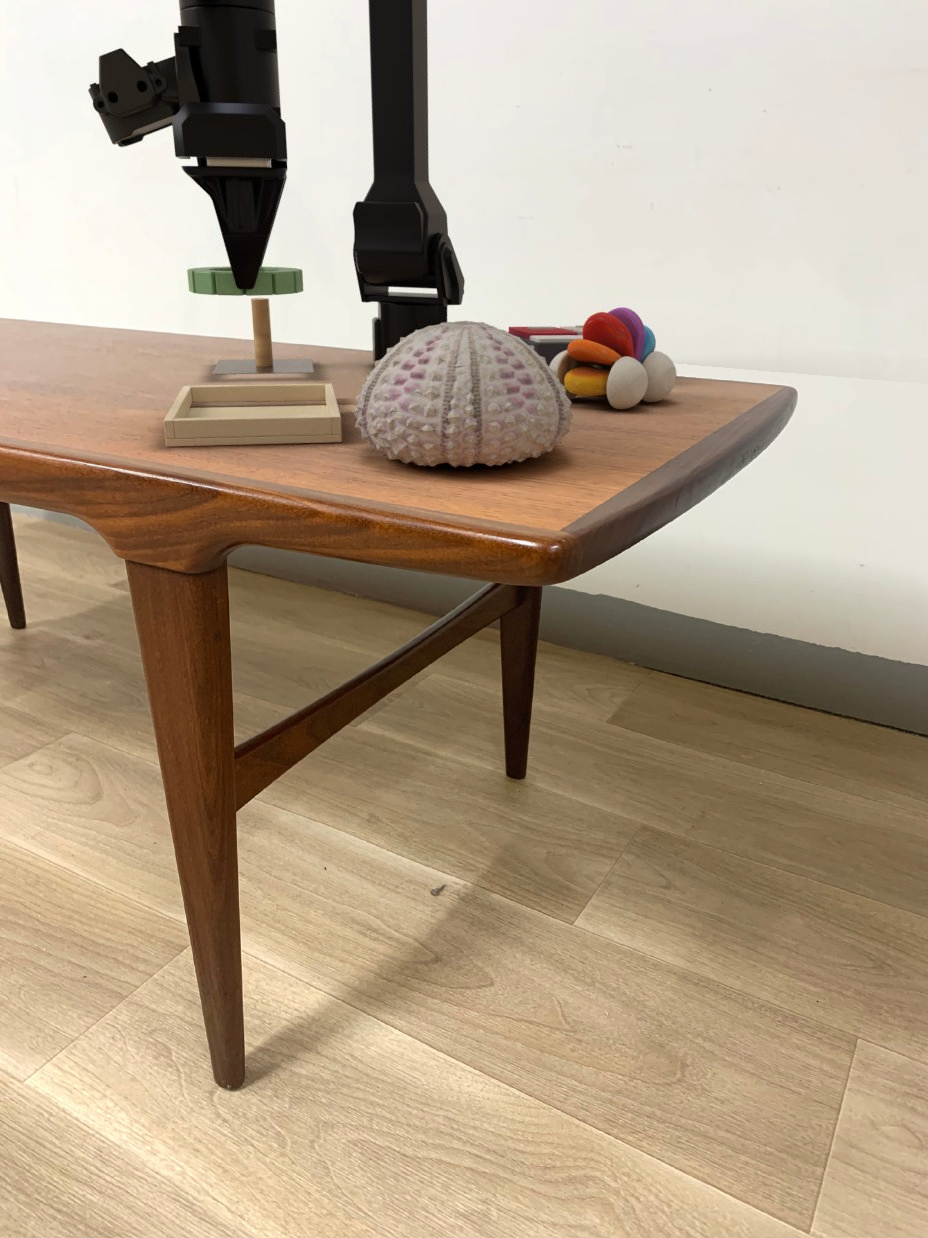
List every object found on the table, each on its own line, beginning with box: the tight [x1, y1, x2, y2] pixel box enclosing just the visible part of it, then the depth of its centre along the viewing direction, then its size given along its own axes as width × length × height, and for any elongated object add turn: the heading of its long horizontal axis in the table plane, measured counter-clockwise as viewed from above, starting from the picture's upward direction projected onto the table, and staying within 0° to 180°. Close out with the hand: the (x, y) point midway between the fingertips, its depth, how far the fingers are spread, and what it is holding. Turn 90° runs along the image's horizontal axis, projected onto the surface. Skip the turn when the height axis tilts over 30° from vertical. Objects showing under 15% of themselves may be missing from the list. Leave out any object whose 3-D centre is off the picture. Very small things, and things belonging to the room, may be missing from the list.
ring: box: [186, 266, 304, 297], centre depth 64 cm, size 8×8×1 cm
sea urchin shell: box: [352, 320, 574, 468], centre depth 58 cm, size 13×14×8 cm
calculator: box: [507, 324, 584, 366], centre depth 91 cm, size 11×4×15 cm
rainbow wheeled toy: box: [549, 306, 678, 410], centre depth 76 cm, size 8×10×7 cm
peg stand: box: [211, 297, 315, 375], centre depth 88 cm, size 9×9×7 cm
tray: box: [162, 383, 343, 448], centre depth 68 cm, size 11×13×2 cm
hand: (247, 284), depth 64 cm, fingers closed on ring, 7 cm apart
